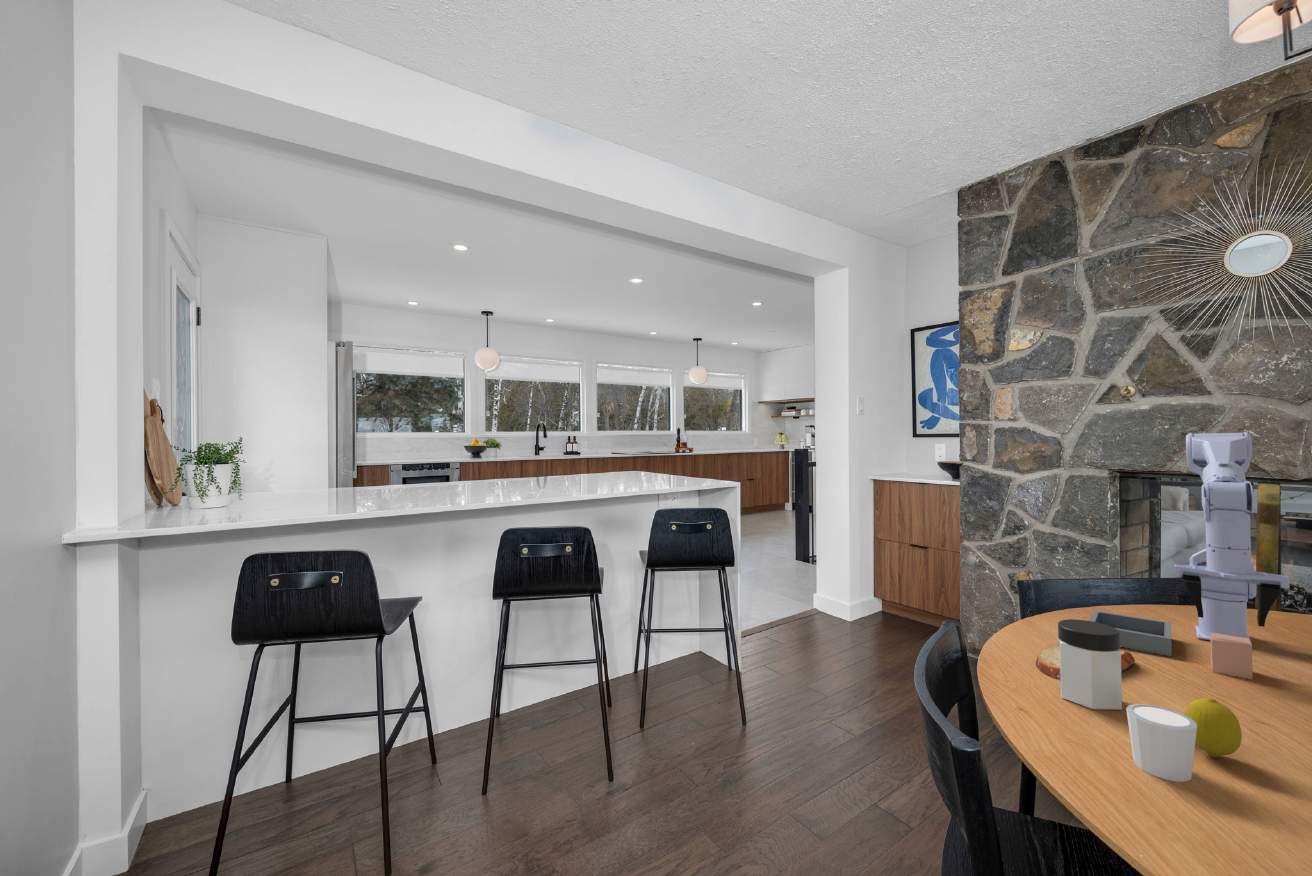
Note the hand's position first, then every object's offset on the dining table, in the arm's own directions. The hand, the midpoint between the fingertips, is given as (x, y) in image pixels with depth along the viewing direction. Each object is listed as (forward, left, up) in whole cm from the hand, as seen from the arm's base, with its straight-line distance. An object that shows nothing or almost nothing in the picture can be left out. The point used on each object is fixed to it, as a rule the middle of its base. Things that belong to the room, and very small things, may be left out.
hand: (1229, 620), depth 100 cm
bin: (-8, -14, -9) cm, 19 cm away
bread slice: (+14, -20, -10) cm, 26 cm away
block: (0, 0, -9) cm, 9 cm away
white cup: (+48, -9, -10) cm, 50 cm away
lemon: (+40, -4, -10) cm, 41 cm away
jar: (+30, -18, -10) cm, 36 cm away
